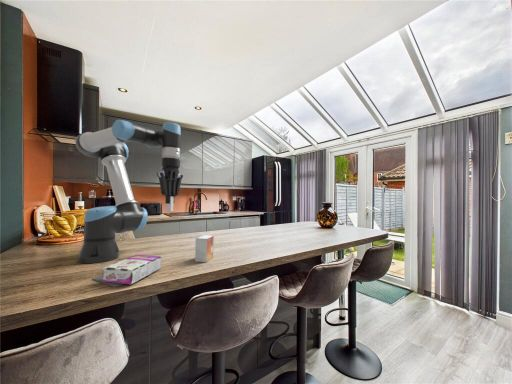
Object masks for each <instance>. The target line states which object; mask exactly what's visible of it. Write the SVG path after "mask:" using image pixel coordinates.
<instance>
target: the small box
mask: <svg viewBox="0 0 512 384" xmlns="http://www.w3.org/2000/svg"><path fill="white" fill-rule="evenodd" d="M214 238H215V236H214V235H205V234H204V235H200V236H198V237H196V238H195V246H194V247H195V250H194V251H195V253H194V254H195V255H194V256H195V257H194V258H195V259H194V262H196V263H197V262H198V263H199V262H200V263H202V262H203V263H207V262H209V261H210V260H212V259H213V258H214V243H215V242H214V240H215V239H214Z"/></svg>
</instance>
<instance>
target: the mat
mask: <svg viewBox="0 0 512 384" xmlns="http://www.w3.org/2000/svg"><path fill="white" fill-rule="evenodd" d="M153 274H154V272H153V273H151V274H149V275H148V276H150V275H153ZM102 277H103V274H102V275H100V276H96V277H93V278H92V281H96V282H99V283H101V284H104V285H107V286H111V287H113V288H117V287H120V286H123V285H124V284H122V283H112V282H102Z"/></svg>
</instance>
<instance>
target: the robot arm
mask: <svg viewBox="0 0 512 384" xmlns="http://www.w3.org/2000/svg"><path fill="white" fill-rule="evenodd" d="M181 135H182V132H181V126H180V125H179V124H178V123H175V122H170V121H167V122H164V123H163V124H162V129H158V130H157V129H156V130H155V129H153V128H150V127H146V126H142V125H140V124H138V123H137V124H136V123H134V122H130V121H128V120H123V119H116V120H115V122H113V123H112V126H111V127H107V128H105V129H101V130H98V131H94V132H91V131H86V132H83V133H80V134H79V135H77V137H76V138H75V147H76V149H77V150H78V151H79V152H80V153H82V154H83V155H84V156H87V157H89V158H95V159H100V162H101V164H102V165H103V166H104V167H106V171H107V175H108V179H109V183H110V187H111V190H112V194H113V197H114V201H115V205H107V206H106V205H105V206H97V207H92V208H88V209H87V210H86V211H85V212H84V218H83V226H84V227H83V244H82V246H81V249H80V251H79V253H78V255H77V256H78V257H77V262H79V263H80V264H96V263H104V262H108V261H112V260H115V259H118V258H119V256H120V249H119V247H118V244H117V241H116V234H118V233H125V232H132V231H133V232H135V231H139V230H141V229H143V228H144V227H146V224H147V222H148V215H149V213H148V211H147V209H146V208H145V207H141V205H140V203H139V201H137V200H135V197H134V196H135V195H134V194H133V189H132V187H131V183H130V178H129V175H128V172H127V170H126V169H127V168H126V165H125V163H126V162H127V159H128V158H129V148H128V146H127V144H126V143H129V142H130V143H133V142H134V143H137V144H142V145H145V146H146V147H147V148H150V149H157V148H161V157H162V158H161V166H162V168H161V171H160V172H157V173H156V176H157V177H158V180H159V181H158V182H159V187H160V194H161V195H162V196H163V197H165V206H166V207H165V209H166V210H165V211H166V212H174V204H175V197H177V196H178V195H179V194H180V193H179V192H180V189H181V183H182V180H183V177H184V175H183V174H181V173H180V170H179V168H180V167H181V160H180V158H181V137H182V136H181Z"/></svg>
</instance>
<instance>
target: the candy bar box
mask: <svg viewBox="0 0 512 384" xmlns="http://www.w3.org/2000/svg"><path fill="white" fill-rule="evenodd" d="M161 268H162V256H161V255H160V256H159V255H158V256H157V255H149V254H148V255H147V254H134V255H132V256H130V257H128V258H124V259H122V260H120V261H119V260H118V261H117V262H115V263H112V264H109V265H107V266H103V267H102V275H103V277H102V282H112V283H122V284H123V285H133V284H135V283H136V282H138V281H140V280H142V279H143V278H146V277H148V276H150V275H152V274H151V273H153V274H154V273H155V272H157V271H158V270H160V269H161ZM149 274H150V275H149Z"/></svg>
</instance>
